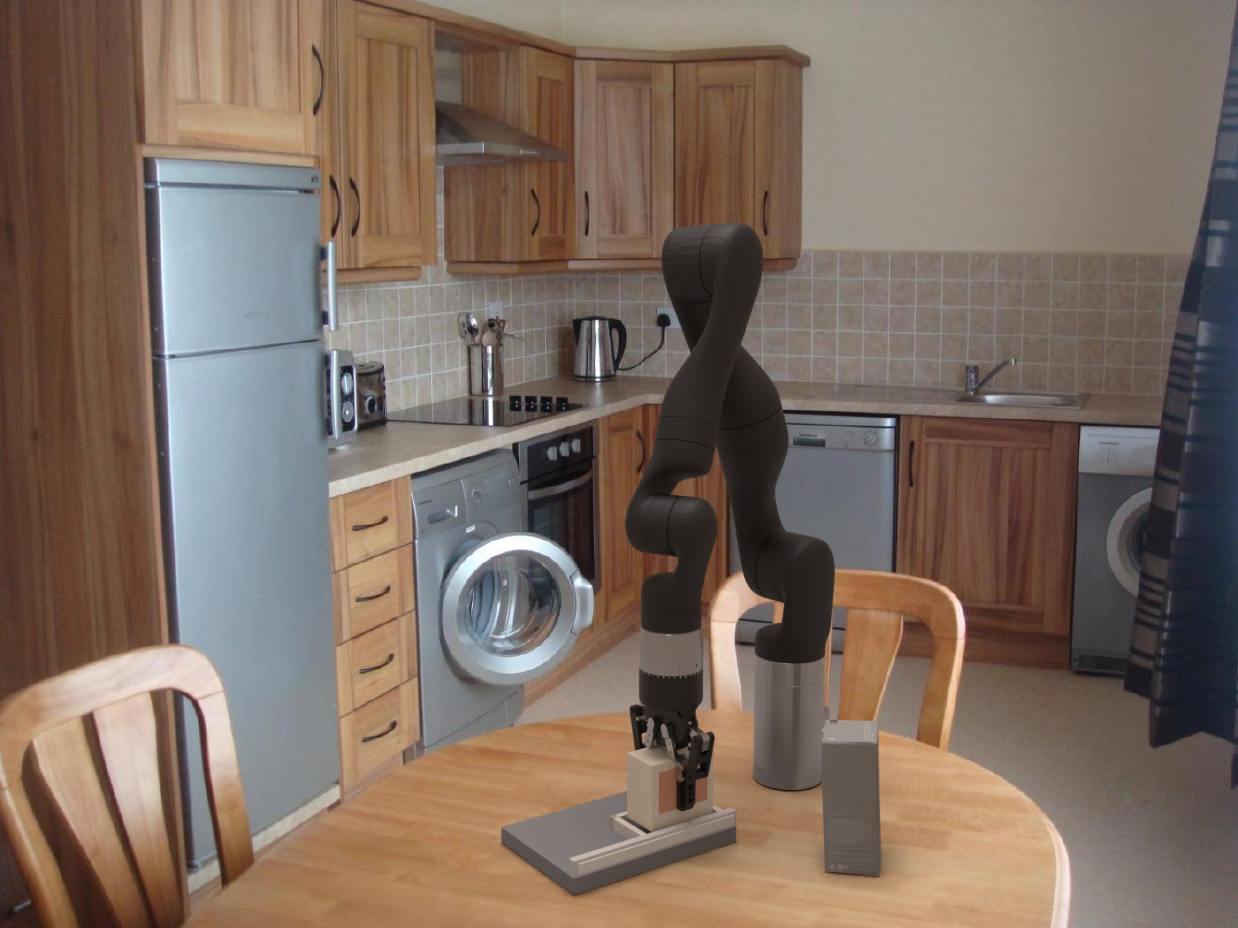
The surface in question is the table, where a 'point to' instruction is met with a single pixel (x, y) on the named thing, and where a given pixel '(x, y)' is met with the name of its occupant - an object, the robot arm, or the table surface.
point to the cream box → (662, 790)
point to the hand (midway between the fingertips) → (670, 800)
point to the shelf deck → (610, 842)
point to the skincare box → (851, 796)
